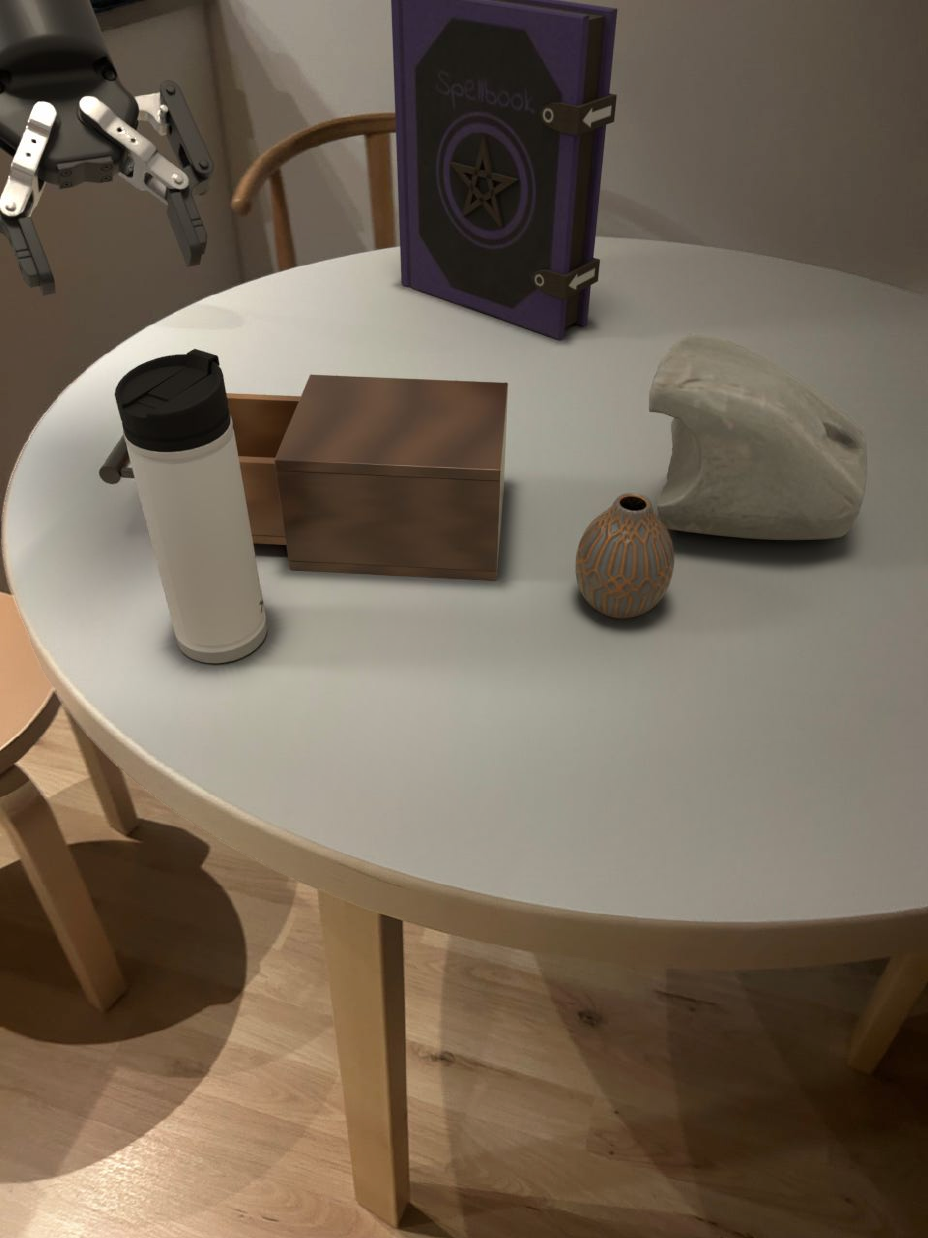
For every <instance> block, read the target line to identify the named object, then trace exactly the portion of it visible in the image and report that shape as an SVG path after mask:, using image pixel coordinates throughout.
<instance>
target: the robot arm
mask: <svg viewBox="0 0 928 1238" xmlns="http://www.w3.org/2000/svg"><path fill="white" fill-rule="evenodd" d="M139 121H145V122H147V123H149V124H150V125H151V126H152V128H153V129H154V130H155V132H157V134H158V135H159V136H163V137H164V136H165V135H166V137H167V140H168V142H169V144H170V146H171V149H172V152H173V153H174V155H175V158H176V160H177V163H178V164H179V167H180V168H179V167H178V166H176V165H175V164H174V163H172V162H171V161H170V160H168V158H166V157H164V156H163V155H162V154H161V153H160V152H159V150H158V148H157V147H156V145H155V144H154V143H153V142H152V141H151V140H149V139H148V138H146V137H145V136H144V135H143V134H141V133H140V132H139V131H138V128H139V127H138V126H139ZM198 127H199V126H198V125H197V123H196V121H195V118H194V115H193V114H192V112H191V108H190V107H189V105H188V103H187V101H186V98H185V96H184V93H183V91H182V89H181V87H180V85H179V84H178V83H177V82H175V81H173V80H169V79H168V80H163V81H162V82H161V83H160V84H159V91H158V92H153V93H147V94H142V95H137V96H134V95H133V94H132V93H131V92H130V91H129V90H128V89H127V88H126V87H125V86H124V85H123V82H121V80H120V77H119V75H118V72H117V69H116V66H115V64H114V60H113V58H112V56H111V52H110V50H109V48H108V45H107V43H106V40H105V37H104V35H103V32H102V30H101V26H100V24H99V21H98V19H97V16H96V14H95V11H94V9H93V6H92V3H91V1H90V0H0V150H1V151H3V152H4V153H5V154H7V155H8V156H9V157H11V158H13V159H12V161H11V163H10V167H9V173H8V178H7V180H6V182H5V185H4V188H3V190H2V192H1V195H0V234H2V235H3V236H4V237H6V239H7V241H8V243H9V246H10V248H11V251H12V253H13V256H14V258H15V261H16V264H17V266H18V269H19V272H20V274H21V277H22V279H23V281H24V282H25V283H26V285H27V286H28V287H29V288H30V289H32V288H37V287H38V288H39V291H40V293H41V295H42V297H46V296H51V295H55V294H56V281H55V277H54V274H53V271H52V269H51V266H50V263H49V260H48V257H47V256H46V255H47V254H46V253H45V251H44V247H43V245H42V242H41V240H40V237H39V234H38V232H37V229H36V227H35V224H34V222H33V219H32V215H33V212H34V209H36V208H37V207H38V205H39V202H40V200H41V197H42V195H43V192H44V190H45V187H46V185H47V183H48V184H50V185H54V186H58V189H59V190H64V189H70V188H74V187H77V186H79V185H81V184H84V183H94V184H95V183H96V184H103V183H104V184H105V183H108V182H109V183H110V182H113V181H114V177H116V176H117V175H118V176H119V177H120V178H122V179H123V180H125V182H127V183H128V184H130V185H131V186H132V187H134V188H135V189H137V190H138V191H140V192H143V191H145V192H147V193H148V194H150V195H151V196H152V197H154V198H156V200H158V201H159V202H160V203H162V204H163V205H165V206H166V216H167V218H168V221H169V224H170V226H171V229H172V231H173V234H174V237H175V240H176V242H177V244H178V247H179V250H180V253H181V256H182V257H183V261H184V263H185V266H186V267H187V268H192V267H196V266H200V265H201V262H202V257H203V255H205V252H206V250H207V249H206V248H207V245H208V232H207V230H206V228H205V226H204V223H203V219H202V217H201V215H200V211H199V209H198V207H197V206H198V205H197V203H196V201H195V199H194V198H196V197H198V196H199V197H200V196H201V197H202V196H205V195H207V194H208V193H209V191H210V188H211V183H212V179H213V174H214V170H215V163H214V161H213V159H212V156H211V155H210V152H209V150H208V148H207V145H206V143H205V140H204V138H203V136H202V134H201V132H200V129H199V128H198Z"/></svg>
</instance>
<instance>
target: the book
mask: <svg viewBox="0 0 928 1238" xmlns="http://www.w3.org/2000/svg"><path fill="white" fill-rule="evenodd" d="M390 10H391V34H392V35H391V36H392V60H393V61H392V64H393V65H392V66H393V85H394V86H393V90H394V91H393V92H394V93H393V94H394V121H395V144H396V174H397V200H398V201H397V203H398V227H399V252H400V256H399V257H400V275H401V276H400V279H401V280H400V281H401V285H402V286H405V287H407V288H412V289H413V290H416V291H418V292H422V293H423V294H426V295H427V294H428V295H429V296H433V297H436V298H439V299H442V300H444V301H447V302H450V303H452V304H456V305H458V306H461V307H464V308H467V309H470V310H472V311H475V312H479V313H481V314H483V315H487V316H490V317H492V318H495V319H498V320H501V321H504V322H507V323H509V324H511V325H512V324H513V325H514V326H515V325H516V326H518V327H521V328H524V329H527V330H530V331H533V332H535V333H538V334H541V335H544V336H547V337H550V338H553V339H555V340H558V341H560V342H561V341H562V340H564V339H565V329H566V328H567V327H570V326H571V325H573V324H574V325H577V326H579V327H583V328H585V327H587V326H588V320H589V319H588V318H589V309H590V297H591V288H592V285H594V284H596V283H598V282H599V275H600V274H599V273H600V265H601V259H599V258H597V257H595V246H596V245H595V244H596V235H597V226H598V215H599V207H600V205H599V204H600V196H601V185H602V174H603V163H604V151H605V142H606V131H607V125H609V124H613V123H615V118H616V108H617V98H618V95H617V94H614V93H610V91H611V80H612V71H613V59H614V51H615V50H614V49H615V48H614V47H615V41H616V40H615V38H616V29H617V17H618V8H616V7H609V6H602V5H595V4H590V3H589V4H587V3H582V2H576V1H575V2H574V1H567V0H390Z"/></svg>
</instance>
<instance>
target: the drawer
mask: <svg viewBox="0 0 928 1238" xmlns="http://www.w3.org/2000/svg"><path fill="white" fill-rule="evenodd" d="M226 394H227V400H228V408H229V411H230V415H231V418H232V423H233V430H234V435H235V441H236V446H237V452H238V458H239V464H240V470H241V476H242V481H243V487H244V493H245V499H246V505H247V510H248V516H249V522H250V528H251V534H252V540H253V544H259V545H278V546H279V545H280V546H287V545H286V538H285V531H284V524H283V517H282V510H281V504H280V497H279V490H278V483H277V476H276V468H275V461H274V460H275V457H276V455H277V452H278V450H279V448H280V445H281V443H282V441H283V438H284V436H285V433H286V431H287V429H288V426H289V424H290V421H291V419H292V417H293V414H294V412H295V410H296V407H297V405H298V402H299V400H300V398H301V395H281V394H280V395H279V394H256V393H237V392H235V393H234V392H233V393H232V392H228V393H227V392H226ZM130 465H131V461H130V458H129V454H128V450H127V445H126V442H125V438H124V434H122V436H120V438H119V440H118V441H117V443H116V444H115V446H114V448H113V449H112V451H111V452H110V454H109V455H108V456H107V458H106V459H105V461H104V463H102V465H101V467H100V468H99V469H98V475H99V477H100V480H101V481H103V482H104V483H106V484H108V485H117V484H118V483H120V481H121V479H135V477H134V473H133V469H132V467H130Z"/></svg>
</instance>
